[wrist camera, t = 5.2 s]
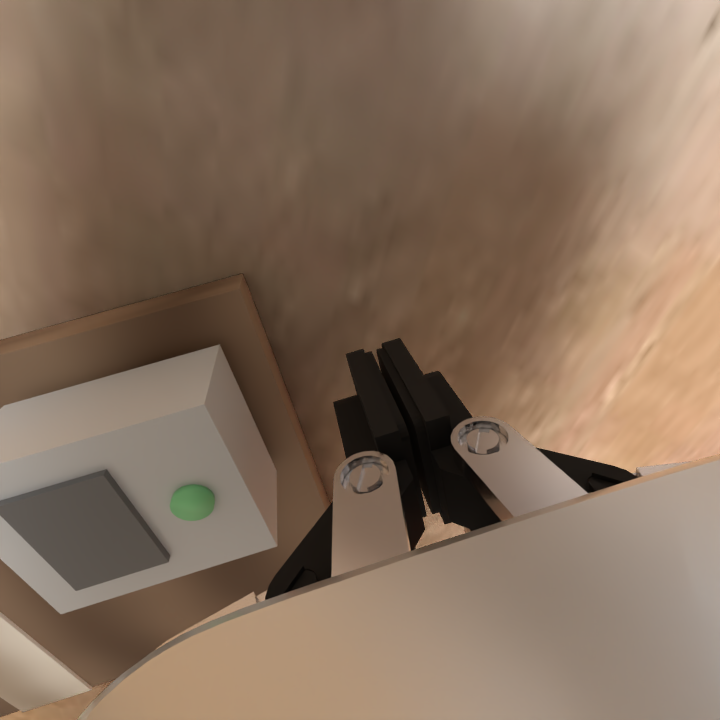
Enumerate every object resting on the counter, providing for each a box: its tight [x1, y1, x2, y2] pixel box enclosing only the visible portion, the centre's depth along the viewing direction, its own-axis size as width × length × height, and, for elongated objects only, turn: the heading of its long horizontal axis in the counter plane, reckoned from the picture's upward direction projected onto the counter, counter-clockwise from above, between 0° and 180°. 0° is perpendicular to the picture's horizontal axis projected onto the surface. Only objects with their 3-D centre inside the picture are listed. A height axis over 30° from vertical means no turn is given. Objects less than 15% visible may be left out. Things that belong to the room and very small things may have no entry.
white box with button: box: [0, 344, 277, 614], centre depth 11 cm, size 6×5×3 cm
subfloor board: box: [0, 274, 330, 717], centre depth 15 cm, size 19×16×2 cm
